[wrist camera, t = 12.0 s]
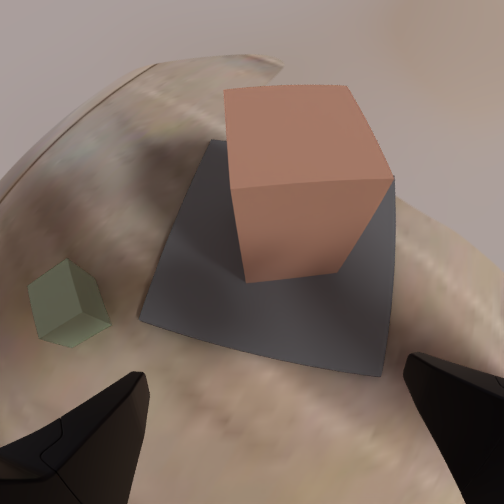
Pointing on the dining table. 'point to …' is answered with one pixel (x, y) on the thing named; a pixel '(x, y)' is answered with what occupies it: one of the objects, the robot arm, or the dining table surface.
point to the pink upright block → (300, 177)
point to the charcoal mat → (271, 286)
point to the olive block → (67, 305)
